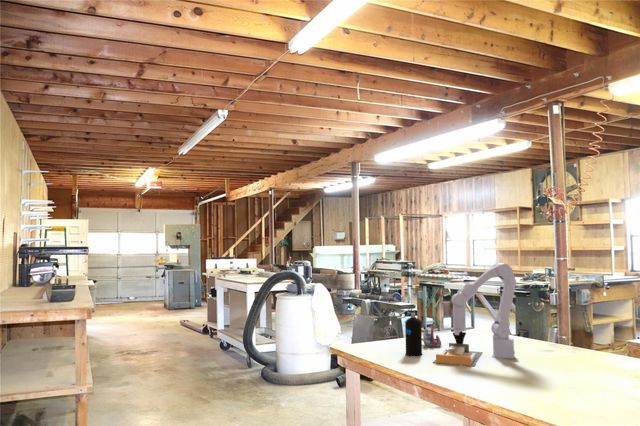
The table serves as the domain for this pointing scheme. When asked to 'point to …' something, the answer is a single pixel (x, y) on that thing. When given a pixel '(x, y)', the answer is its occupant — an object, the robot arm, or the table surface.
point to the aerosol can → (413, 336)
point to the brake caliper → (431, 339)
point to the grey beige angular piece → (458, 349)
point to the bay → (458, 358)
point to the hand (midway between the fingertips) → (459, 348)
